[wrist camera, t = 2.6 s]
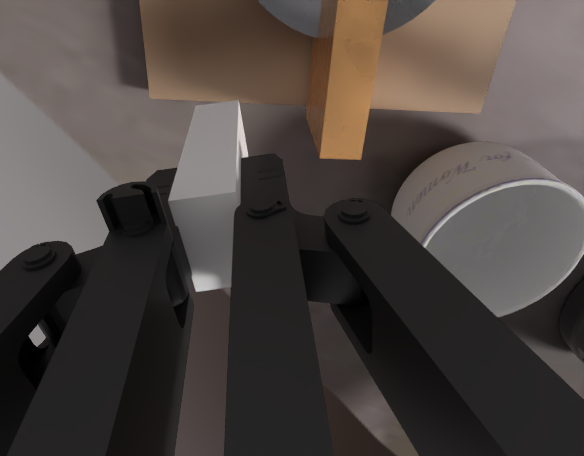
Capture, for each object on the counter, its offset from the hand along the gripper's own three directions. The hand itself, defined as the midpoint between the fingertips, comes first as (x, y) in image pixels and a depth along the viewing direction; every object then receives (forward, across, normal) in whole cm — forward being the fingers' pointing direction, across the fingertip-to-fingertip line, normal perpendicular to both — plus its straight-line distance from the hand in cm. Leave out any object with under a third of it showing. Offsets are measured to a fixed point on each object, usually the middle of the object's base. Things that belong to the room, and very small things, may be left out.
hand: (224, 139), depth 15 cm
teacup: (+12, -13, +11) cm, 21 cm away
